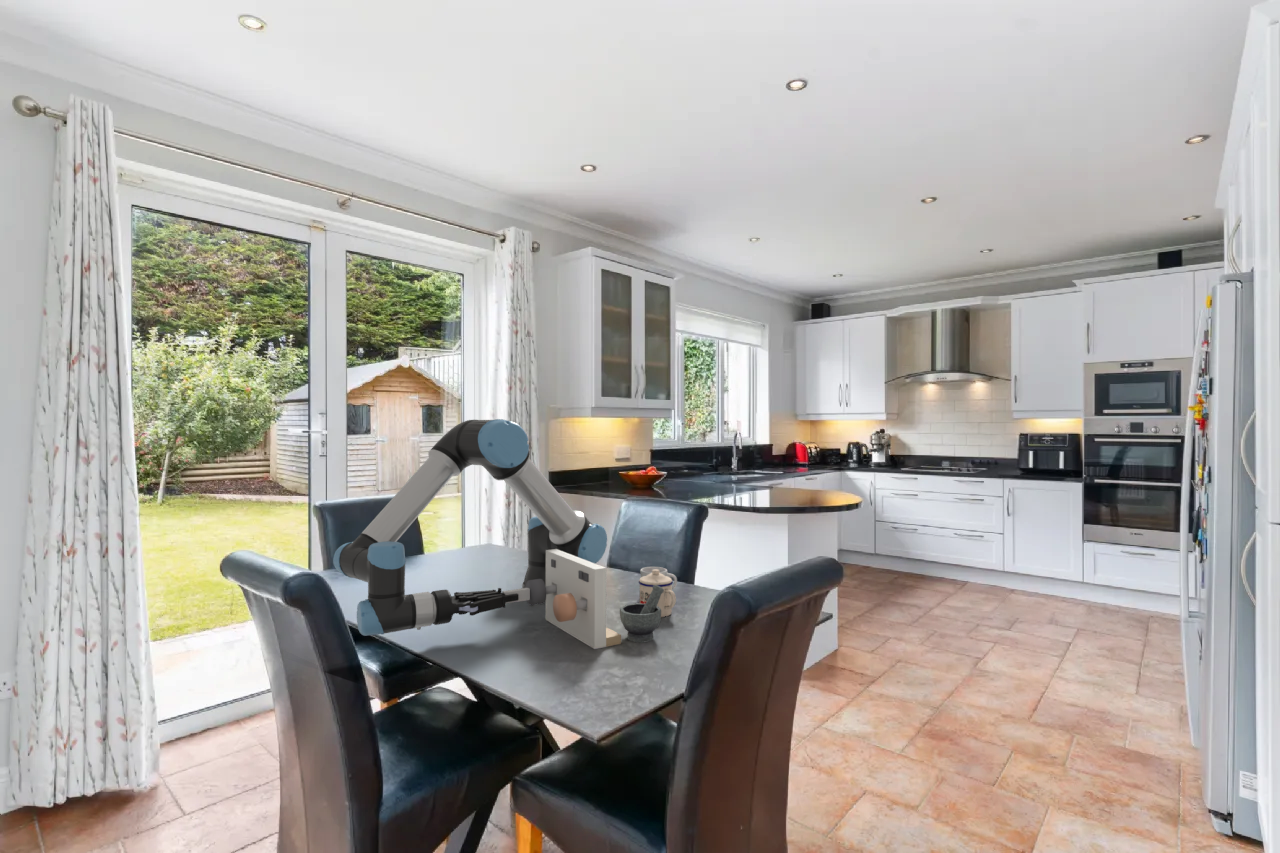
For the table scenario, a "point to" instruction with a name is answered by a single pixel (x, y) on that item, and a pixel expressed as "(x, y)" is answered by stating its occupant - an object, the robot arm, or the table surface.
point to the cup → (663, 571)
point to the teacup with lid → (666, 597)
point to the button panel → (580, 597)
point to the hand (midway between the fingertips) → (528, 593)
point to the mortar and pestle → (642, 617)
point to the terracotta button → (567, 607)
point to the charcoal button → (539, 591)
